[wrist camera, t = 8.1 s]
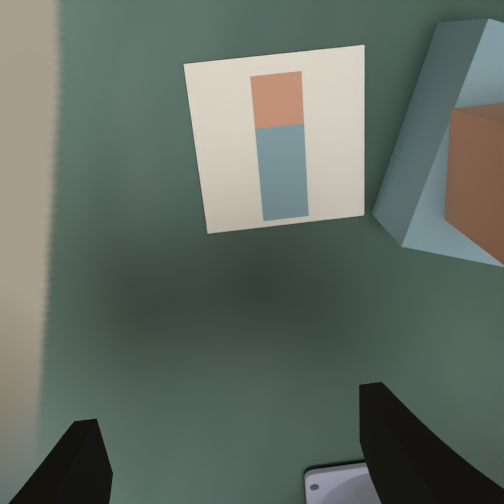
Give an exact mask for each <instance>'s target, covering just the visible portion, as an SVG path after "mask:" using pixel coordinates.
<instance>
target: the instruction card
mask: <svg viewBox="0 0 504 504" xmlns="http://www.w3.org/2000/svg"><path fill="white" fill-rule="evenodd" d="M184 71H185V78H186V85H187V92H188V99H189V106H190V113H191V120H192V127H193V134H194V141H195V148H196V155H197V162H198V169H199V176H200V183H201V190H202V197H203V204H204V211H205V218H206V225H207V232H208V234H209V233H217V232H226V231H234V230H243V229H251V228H260V227H268V226H277V225H286V224H294V223H303V222H311V221H320V220H328V219H337V218H345V217H354V216H362V215H364V45H358V46H349V47H339V48H330V49H320V50H311V51H301V52H292V53H282V54H273V55H263V56H254V57H244V58H235V59H226V60H216V61H207V62H197V63H188V64H184Z"/></svg>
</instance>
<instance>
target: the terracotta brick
mask: <svg viewBox="0 0 504 504" xmlns="http://www.w3.org/2000/svg"><path fill="white" fill-rule="evenodd" d="M444 219H445V220H446V221H447V222H448V223H450V224H451V225H452V226H454V227H455V228H456V229H457V230H459V231H460V232H461V233H463V234H464V235H465V236H466V237H468V238H469V239H470V240H472V241H473V242H474V243H476V244H477V245H478V246H479V247H481V248H482V249H483V250H485V251H486V252H487V253H488V254H490V255H491V256H492V257H494V258H495V259H496V260H497V261H499V262H500V263H501V264H503V265H504V102H503V103H495V104H487V105H479V106H471V107H463V108H455V109H451V117H450V134H449V151H448V167H447V184H446V201H445V218H444Z"/></svg>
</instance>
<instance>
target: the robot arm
mask: <svg viewBox="0 0 504 504" xmlns="http://www.w3.org/2000/svg"><path fill="white" fill-rule="evenodd" d="M359 408H360V444H361V447H362V451H363V454H364V458H365V461H366V462H365V463H358V464H350V465H343V466H335V467H328V468H320V469H313V470H309V471H308V472H306V474H305V476H304V479H305V494H306V504H504V489H503V488H502V487H500V486H499V485H497V484H496V483H495V482H493V481H492V480H490V479H489V478H488V477H486V476H485V475H484V474H482V473H481V472H480V471H478V470H477V469H476V468H474V467H473V466H472V465H471V464H469V463H468V462H467V461H466V460H464V459H463V458H462V457H461V456H459V455H458V454H457V453H456V452H455V451H453V450H452V449H451V448H450V447H449V446H448V445H446V444H445V443H444V442H443V441H442V440H441V439H440V438H438V437H437V436H436V435H435V434H434V433H433V432H432V431H431V430H430V429H429V428H428V427H426V426H425V425H424V424H423V423H422V422H421V421H420V420H419V419H418V418H417V417H416V416H415V415H414V414H413V413H412V412H411V411H410V410H409V409H408V408H407V407H406V406H405V405H404V404H403V403H402V402H401V401H400V400H399V399H398V398H397V397H396V396H395V395H394V394H393V393H392V392H391V391H390V390H389V389H388V388H387V387H386V386H385V385H384V384H383V383H382V382H378V383H370V384H362V385H359ZM112 477H113V472H112V469H111V465H110V462H109V459H108V455H107V452H106V448H105V445H104V442H103V438H102V435H101V432H100V428H99V425H98V421H97V419H90V420H82V421H74V422H73V424H72V425H71V426H70V427H69V428H68V430H67V431H66V432H65V434H64V435H63V436H62V437H61V439H60V440H59V441H58V443H57V444H56V445H55V447H54V448H53V449H52V451H51V452H50V453H49V454H48V456H47V457H46V458H45V460H44V461H43V462H42V463H41V465H40V466H39V467H38V468H37V470H36V471H35V472H34V473H33V475H32V476H31V477H30V478H29V480H28V481H27V482H26V483H25V485H24V486H23V487H22V488H21V490H20V491H19V492H18V493H17V494H16V496H15V497H14V498H13V499H12V500H11V501H10V502H9V504H109V501H110V494H111V485H112ZM313 484H314V485H313Z"/></svg>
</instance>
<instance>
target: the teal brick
mask: <svg viewBox="0 0 504 504" xmlns="http://www.w3.org/2000/svg"><path fill="white" fill-rule="evenodd" d="M503 102H504V23H502V22H499V21H496V20H492V19H489V18H488V19H475V20H462V21H449V22H438V23H437V26H436V29H435V32H434V35H433V38H432V40H431V43H430V46H429V49H428V52H427V55H426V58H425V61H424V64H423V66H422V69H421V72H420V75H419V78H418V81H417V84H416V87H415V89H414V92H413V95H412V98H411V101H410V104H409V107H408V110H407V113H406V115H405V118H404V121H403V124H402V127H401V130H400V133H399V136H398V138H397V141H396V144H395V147H394V150H393V153H392V156H391V159H390V162H389V164H388V167H387V170H386V173H385V176H384V179H383V182H382V185H381V188H380V190H379V193H378V196H377V199H376V202H375V205H374V208H373V211H372V213H371V214H372V215H373V216H374V217H375V218H376V219H377V221H378V222H379V223H380V224H381V225H382V226H383V227H384V228H385V229H386V230H387V231H388V233H389V234H390V235H391V236H392V237H393V238H394V239H395V240H396V241H397V242H398V243H399V245H400V246H401V247H406V248H411V249H416V250H421V251H426V252H431V253H436V254H441V255H447V256H452V257H457V258H462V259H467V260H472V261H477V262H482V263H487V264H492V265H497V266H502V267H504V265H503V264H501V263H500V262H499V261H497V260H496V259H495V258H494V257H492V256H491V255H490V254H488V253H487V252H486V251H485V250H483V249H482V248H481V247H479V246H478V245H477V244H476V243H474V242H473V241H472V240H470V239H469V238H468V237H466V236H465V235H464V234H463V233H461V232H460V231H459V230H457V229H456V228H455V227H454V226H452V225H451V224H450V223H448V222H447V221H446V220H445V219H444V218H445V201H446V184H447V167H448V151H449V134H450V117H451V109H455V108H463V107H471V106H479V105H487V104H495V103H503Z"/></svg>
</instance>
